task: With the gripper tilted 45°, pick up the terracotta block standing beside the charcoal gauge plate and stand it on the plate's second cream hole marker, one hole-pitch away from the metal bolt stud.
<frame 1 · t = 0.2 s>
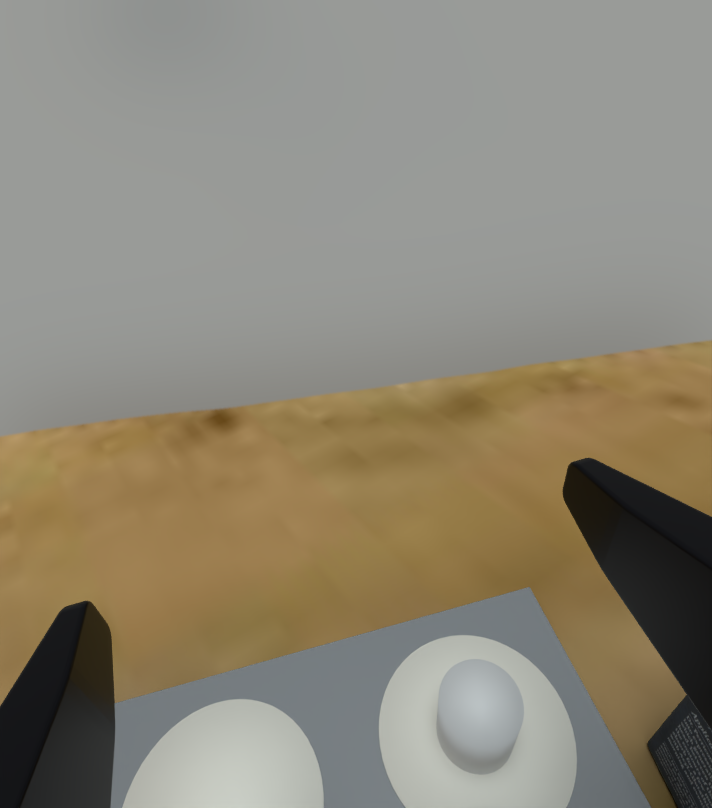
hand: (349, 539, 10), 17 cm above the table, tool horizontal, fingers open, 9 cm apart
gauge plate: (354, 776, 21), on the table
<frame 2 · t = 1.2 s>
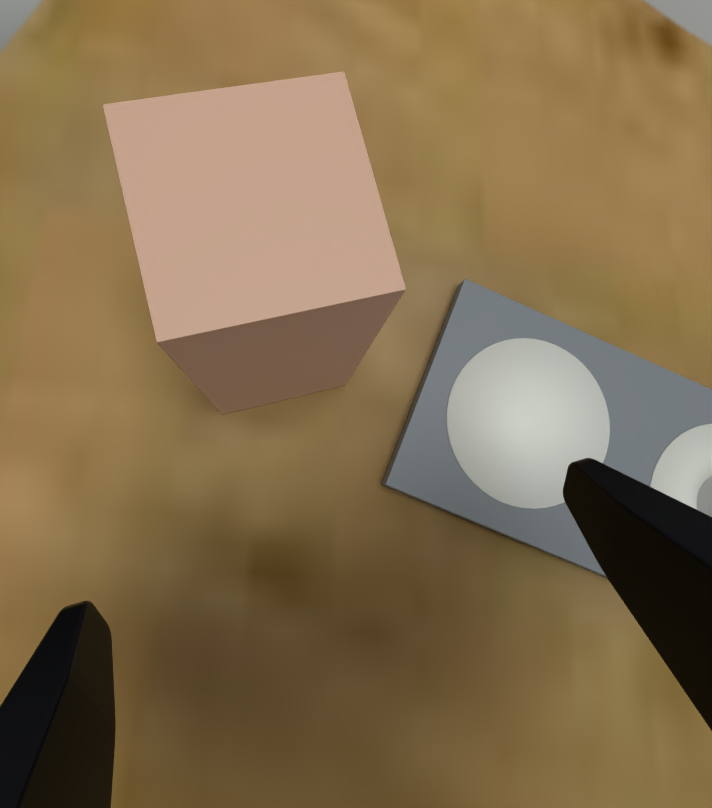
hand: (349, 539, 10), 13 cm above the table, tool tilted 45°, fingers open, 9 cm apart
pitch block: (270, 340, 23), on the table
gauge plate: (614, 465, 25), on the table
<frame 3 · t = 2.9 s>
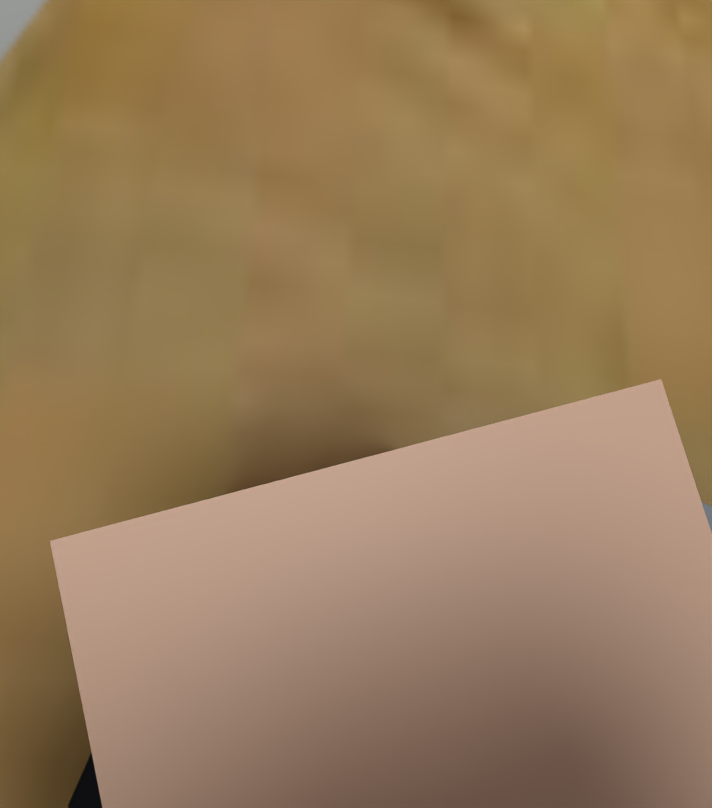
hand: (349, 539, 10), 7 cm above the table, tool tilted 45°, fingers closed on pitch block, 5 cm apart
pitch block: (334, 560, 16), on the table, touching gripper
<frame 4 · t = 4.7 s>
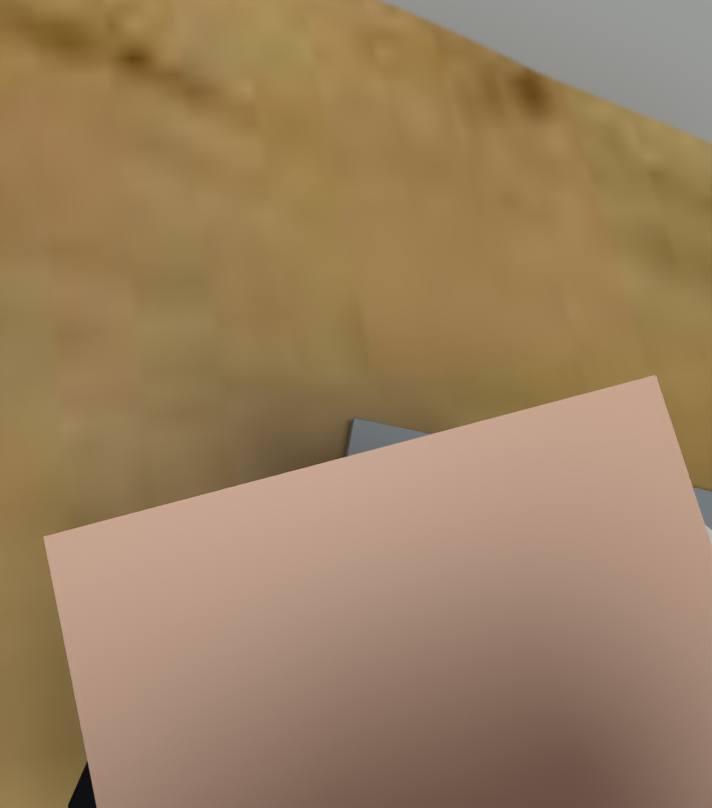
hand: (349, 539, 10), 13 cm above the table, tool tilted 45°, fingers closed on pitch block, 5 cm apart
pitch block: (332, 559, 16), point 7 cm above the table, touching gripper
gauge plate: (547, 572, 24), on the table
when the fingers open (9 cm above the table, at t = 6.3 s): pitch block drops 1 cm, resting on gauge plate.
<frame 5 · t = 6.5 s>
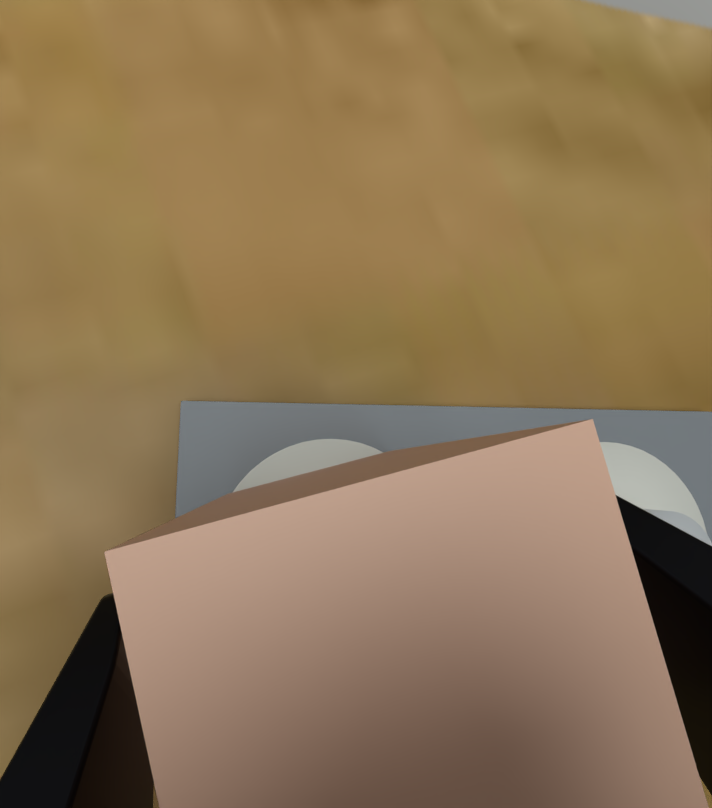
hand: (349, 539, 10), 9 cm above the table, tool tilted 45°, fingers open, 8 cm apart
pitch block: (331, 553, 17), point 1 cm above the table, touching gauge plate
gauge plate: (465, 547, 19), on the table
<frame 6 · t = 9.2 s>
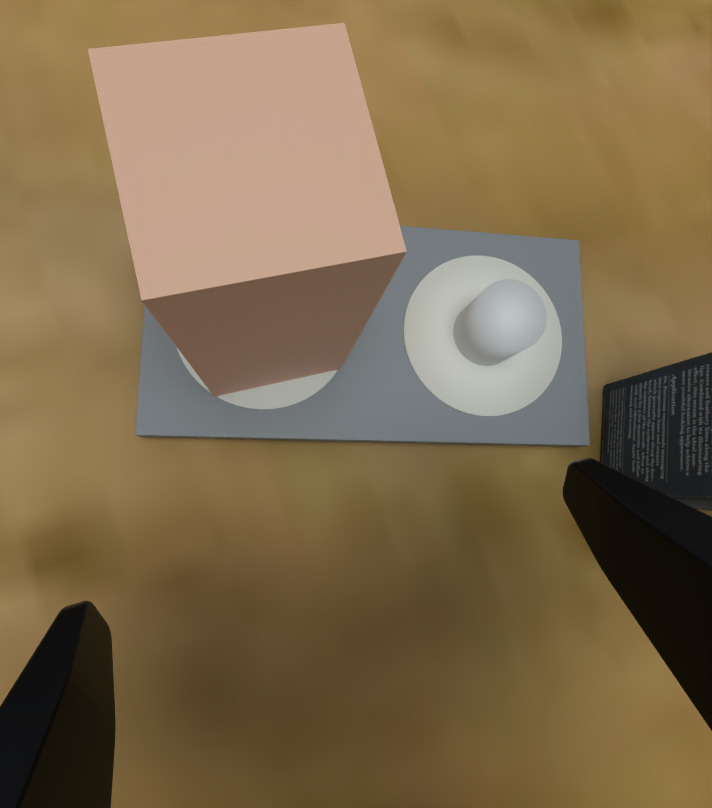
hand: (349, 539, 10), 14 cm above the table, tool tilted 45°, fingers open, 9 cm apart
pitch block: (264, 321, 23), point 1 cm above the table, touching gauge plate
box: (668, 449, 26), on the table
gauge plate: (373, 334, 25), on the table
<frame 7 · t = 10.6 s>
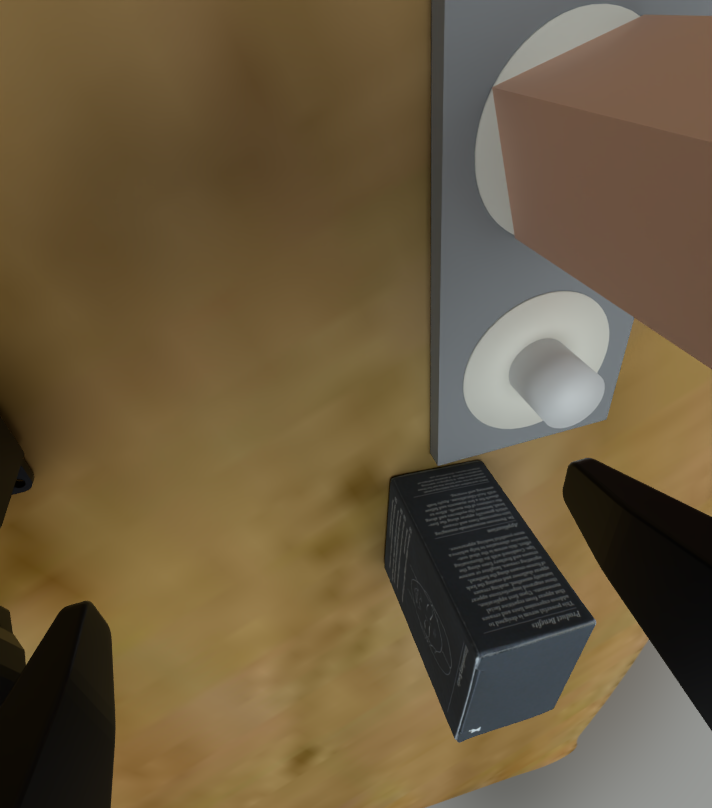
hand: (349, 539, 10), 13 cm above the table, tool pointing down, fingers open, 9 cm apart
pitch block: (573, 136, 19), point 1 cm above the table, touching gauge plate
box: (428, 510, 32), on the table
gauge plate: (538, 257, 23), on the table
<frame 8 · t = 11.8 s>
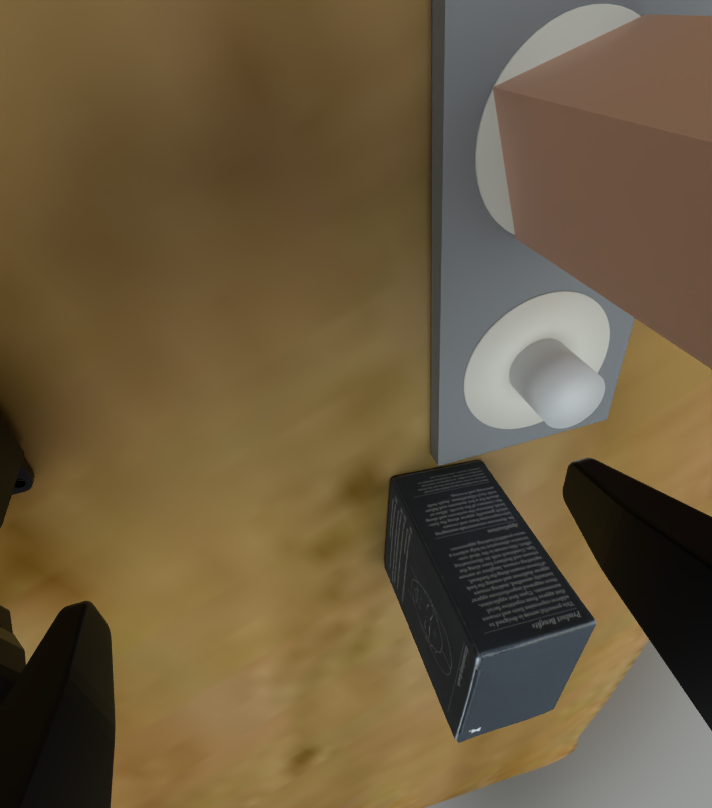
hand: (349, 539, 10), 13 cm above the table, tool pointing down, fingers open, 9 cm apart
pitch block: (574, 136, 19), point 1 cm above the table, touching gauge plate
box: (428, 510, 32), on the table
gauge plate: (539, 257, 23), on the table
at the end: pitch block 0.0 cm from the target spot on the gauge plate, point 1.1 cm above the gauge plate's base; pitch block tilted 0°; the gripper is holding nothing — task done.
